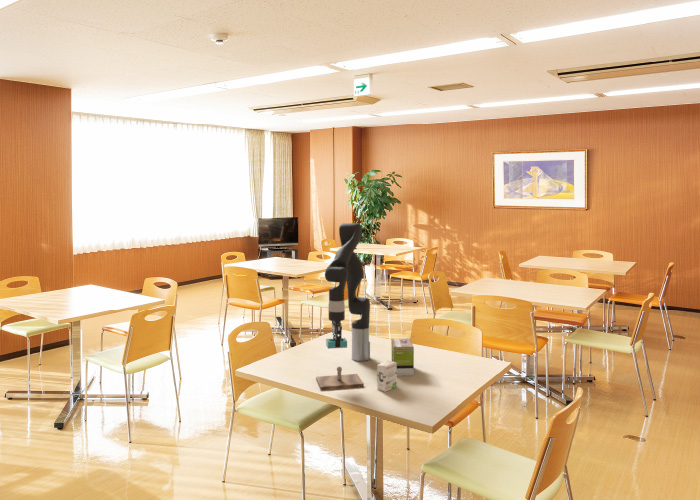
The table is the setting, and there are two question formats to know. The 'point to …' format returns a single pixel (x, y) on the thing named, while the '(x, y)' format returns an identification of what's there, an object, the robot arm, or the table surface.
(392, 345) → the tea box
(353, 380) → the plate
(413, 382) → the table surface
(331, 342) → the teal open frame
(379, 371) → the ink box
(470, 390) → the table surface
